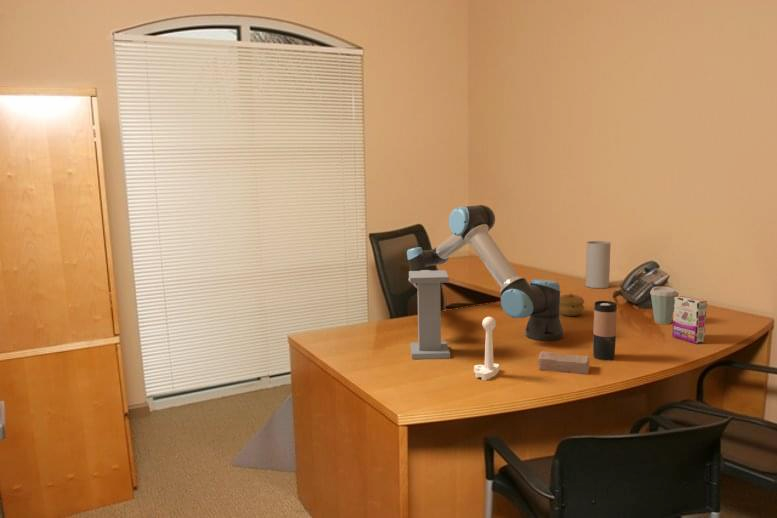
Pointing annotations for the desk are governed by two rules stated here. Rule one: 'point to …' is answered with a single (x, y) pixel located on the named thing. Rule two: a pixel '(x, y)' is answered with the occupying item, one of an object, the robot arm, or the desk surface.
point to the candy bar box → (689, 319)
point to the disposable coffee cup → (663, 304)
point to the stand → (429, 315)
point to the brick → (563, 363)
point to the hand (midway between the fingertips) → (426, 277)
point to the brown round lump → (571, 305)
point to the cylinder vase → (597, 264)
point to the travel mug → (604, 330)
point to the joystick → (487, 353)
